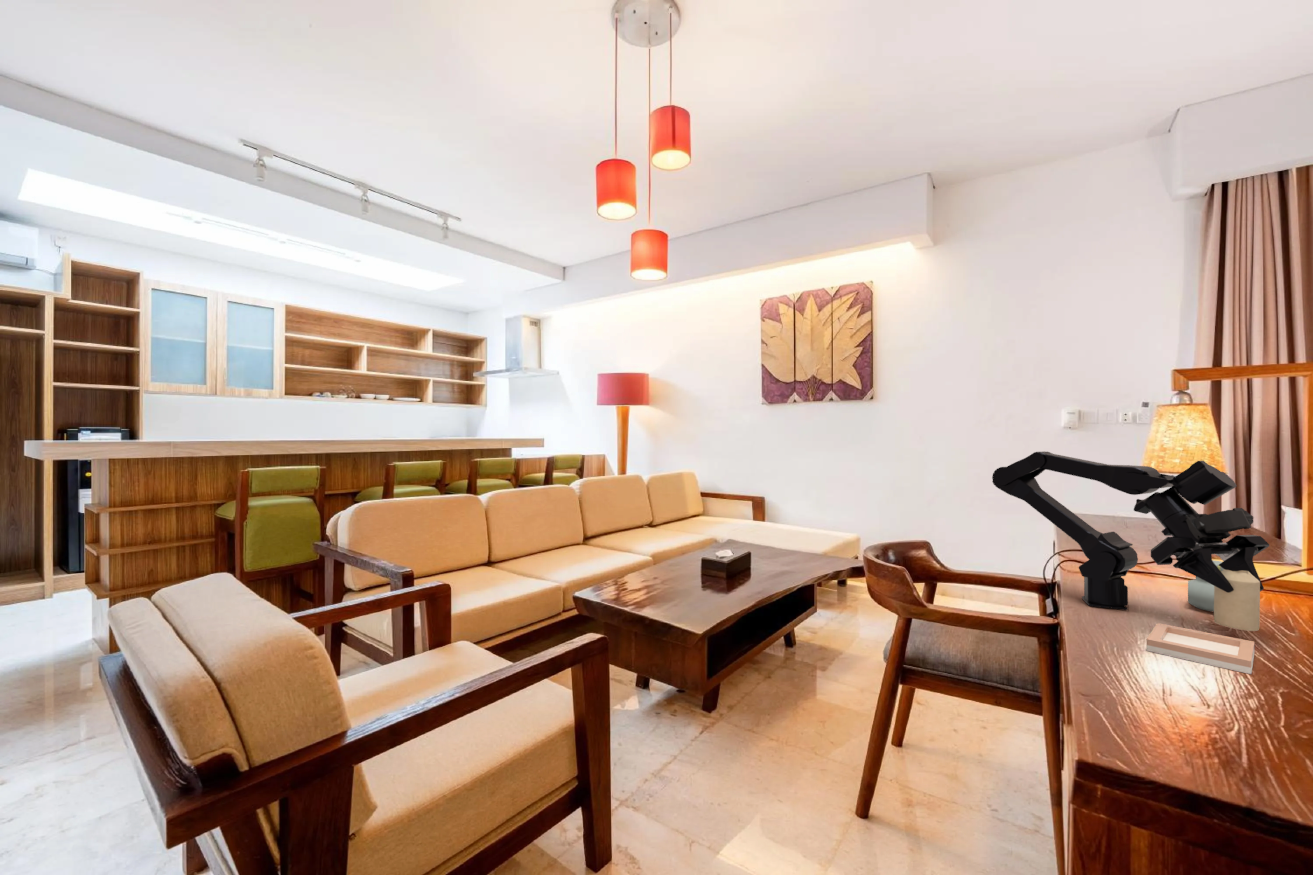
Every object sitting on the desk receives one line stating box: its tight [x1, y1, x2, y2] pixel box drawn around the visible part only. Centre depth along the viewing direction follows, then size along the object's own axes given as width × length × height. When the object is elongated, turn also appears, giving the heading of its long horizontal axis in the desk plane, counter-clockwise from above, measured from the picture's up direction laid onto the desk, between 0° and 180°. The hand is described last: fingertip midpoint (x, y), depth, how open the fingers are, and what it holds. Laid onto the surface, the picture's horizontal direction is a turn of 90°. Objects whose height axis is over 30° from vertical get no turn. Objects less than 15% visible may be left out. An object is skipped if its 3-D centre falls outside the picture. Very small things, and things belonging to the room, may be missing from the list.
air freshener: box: [1187, 559, 1224, 613], centre depth 112 cm, size 11×8×10 cm
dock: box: [1145, 622, 1255, 675], centre depth 90 cm, size 12×12×2 cm
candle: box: [1213, 569, 1261, 632], centre depth 95 cm, size 6×6×10 cm
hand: (1246, 590), depth 94 cm, fingers closed on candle, 5 cm apart
